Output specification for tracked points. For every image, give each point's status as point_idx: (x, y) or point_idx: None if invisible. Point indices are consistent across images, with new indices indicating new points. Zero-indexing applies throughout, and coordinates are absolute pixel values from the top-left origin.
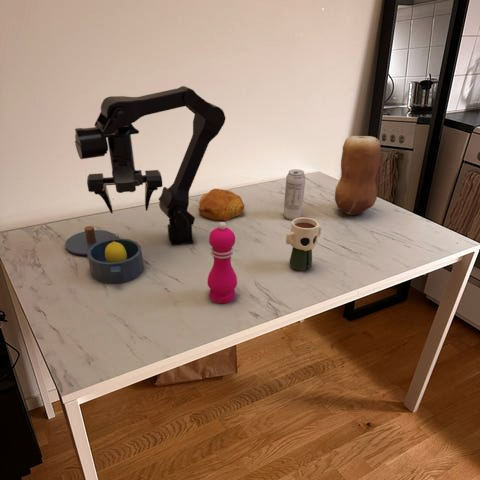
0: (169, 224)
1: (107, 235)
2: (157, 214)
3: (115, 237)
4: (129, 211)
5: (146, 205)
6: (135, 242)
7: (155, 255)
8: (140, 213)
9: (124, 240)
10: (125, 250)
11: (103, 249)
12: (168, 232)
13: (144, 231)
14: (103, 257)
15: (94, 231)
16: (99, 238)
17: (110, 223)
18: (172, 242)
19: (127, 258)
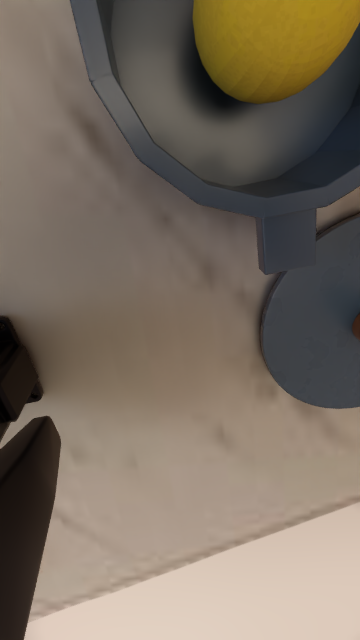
0: (4, 419)
1: (304, 371)
2: (131, 522)
3: (283, 257)
4: (229, 529)
5: (9, 457)
6: (141, 146)
7: (65, 219)
8: (191, 522)
9: (225, 188)
10: (204, 17)
11: (346, 155)
12: (17, 376)
13: (158, 420)
14: (328, 147)
15: (354, 398)
16: (337, 346)
17: (289, 462)
18: (5, 330)
19: (201, 172)
